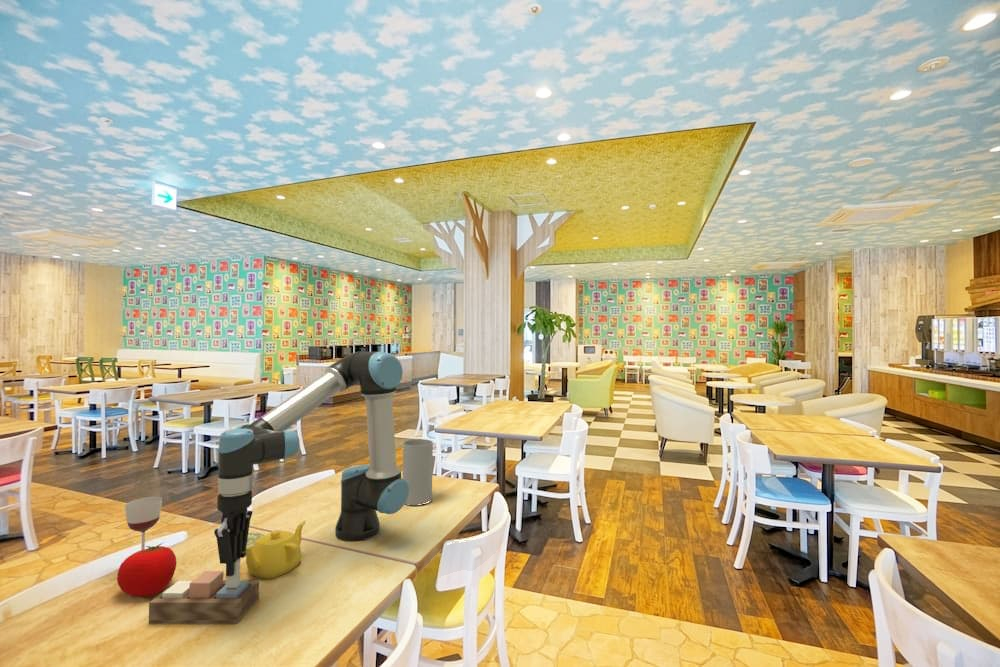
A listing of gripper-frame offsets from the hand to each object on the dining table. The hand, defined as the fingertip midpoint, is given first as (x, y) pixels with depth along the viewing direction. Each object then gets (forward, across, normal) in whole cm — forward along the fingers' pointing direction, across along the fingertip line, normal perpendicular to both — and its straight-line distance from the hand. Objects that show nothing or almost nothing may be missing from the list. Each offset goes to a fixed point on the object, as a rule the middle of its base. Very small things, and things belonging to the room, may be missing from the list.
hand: (232, 586), depth 113 cm
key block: (+6, 0, -6) cm, 9 cm away
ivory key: (+5, 0, -13) cm, 14 cm away
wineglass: (+7, -20, -37) cm, 43 cm away
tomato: (+7, -9, -27) cm, 30 cm away
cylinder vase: (+6, -78, +34) cm, 85 cm away
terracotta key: (+3, 0, -6) cm, 7 cm away
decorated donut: (+7, -34, -14) cm, 38 cm away
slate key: (+5, 0, 0) cm, 5 cm away
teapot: (+7, -21, +2) cm, 22 cm away
